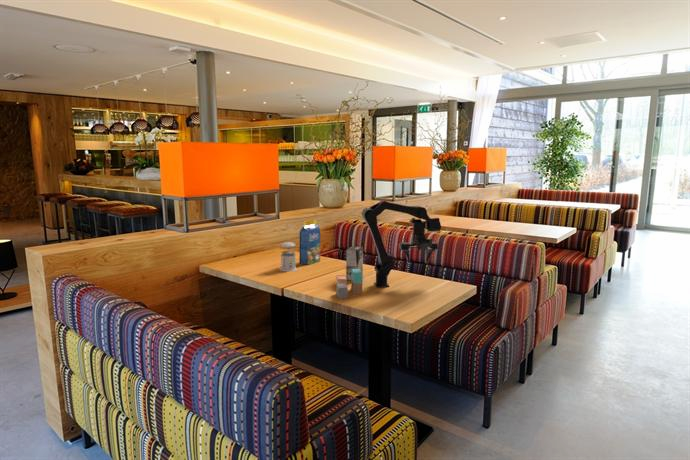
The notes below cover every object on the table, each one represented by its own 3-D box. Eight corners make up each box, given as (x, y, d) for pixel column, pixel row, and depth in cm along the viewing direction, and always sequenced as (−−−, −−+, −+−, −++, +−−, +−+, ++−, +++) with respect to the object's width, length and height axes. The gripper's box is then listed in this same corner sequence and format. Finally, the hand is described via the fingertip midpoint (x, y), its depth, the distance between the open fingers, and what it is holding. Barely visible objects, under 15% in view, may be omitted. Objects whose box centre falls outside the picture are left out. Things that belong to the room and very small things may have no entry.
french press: (293, 266, 257) (293, 222, 253) (300, 271, 247) (300, 226, 242) (277, 267, 253) (276, 223, 248) (283, 273, 242) (283, 227, 238)
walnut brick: (351, 289, 216) (351, 279, 215) (359, 289, 216) (359, 279, 216) (353, 293, 209) (353, 283, 208) (362, 293, 210) (362, 283, 209)
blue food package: (299, 263, 263) (299, 221, 259) (312, 259, 273) (312, 218, 269) (307, 265, 260) (307, 222, 255) (320, 261, 270) (320, 219, 265)
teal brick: (351, 279, 215) (351, 269, 214) (359, 279, 216) (359, 268, 215) (354, 283, 208) (354, 273, 207) (362, 283, 209) (362, 272, 208)
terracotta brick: (336, 285, 223) (336, 275, 222) (344, 284, 223) (344, 275, 222) (338, 289, 216) (338, 279, 215) (346, 289, 217) (346, 278, 216)
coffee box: (357, 281, 229) (358, 250, 227) (345, 279, 231) (346, 249, 229) (362, 276, 238) (363, 246, 235) (351, 275, 240) (351, 245, 237)
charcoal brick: (336, 294, 209) (336, 283, 208) (344, 293, 209) (345, 283, 209) (338, 298, 202) (338, 288, 201) (347, 298, 203) (347, 287, 202)
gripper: (405, 235, 212) (403, 267, 214) (443, 234, 215) (441, 266, 217) (398, 230, 223) (397, 261, 225) (434, 230, 226) (433, 260, 228)
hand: (417, 262), depth 224 cm, fingers open, 9 cm apart
